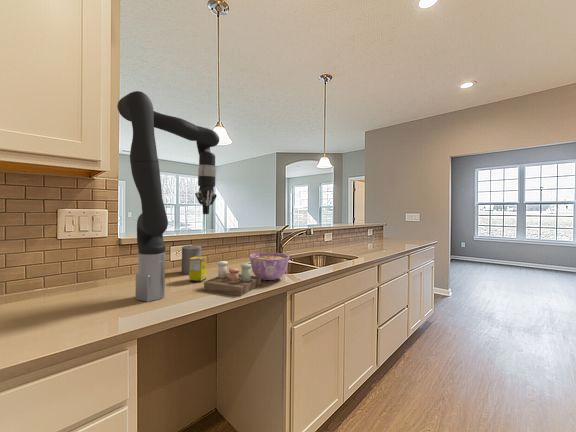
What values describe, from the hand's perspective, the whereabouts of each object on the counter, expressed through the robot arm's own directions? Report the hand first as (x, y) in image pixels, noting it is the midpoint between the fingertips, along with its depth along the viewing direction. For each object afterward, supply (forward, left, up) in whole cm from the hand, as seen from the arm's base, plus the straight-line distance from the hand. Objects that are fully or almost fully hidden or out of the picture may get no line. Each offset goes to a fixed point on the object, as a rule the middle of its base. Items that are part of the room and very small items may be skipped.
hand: (205, 214), depth 124 cm
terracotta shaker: (+1, -15, -31) cm, 34 cm away
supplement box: (+3, +6, -32) cm, 33 cm away
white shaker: (+1, -9, -28) cm, 30 cm away
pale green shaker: (+1, -21, -28) cm, 35 cm away
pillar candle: (+14, +19, -32) cm, 40 cm away
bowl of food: (+21, -23, -32) cm, 45 cm away
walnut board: (+1, -15, -32) cm, 35 cm away
